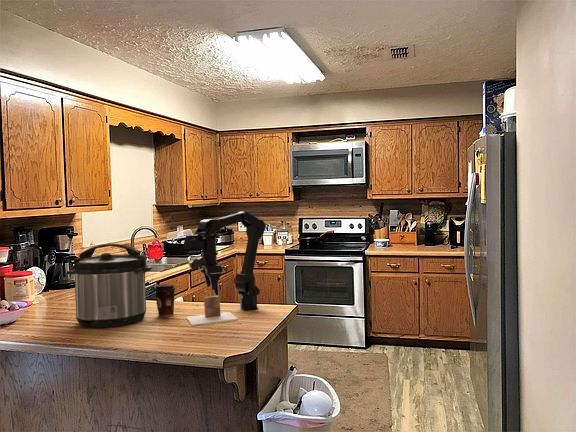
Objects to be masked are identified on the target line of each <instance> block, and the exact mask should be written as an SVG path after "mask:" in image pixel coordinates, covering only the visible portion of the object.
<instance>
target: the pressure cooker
mask: <svg viewBox="0 0 576 432" xmlns="http://www.w3.org/2000/svg"><path fill="white" fill-rule="evenodd" d="M107 247H114V248H121V249H125V251H126V252H127V254H124V253H122V254H119V253H118V254H117V253H116V254H115V253H113V254H112V253H111V252H104V253H102V254H100V255H93V254H94V253H95V251H96V249H101V248H107ZM78 256H79V257H75V258H74V259H73V268H74V269H69V270H67V271H66V275H74V295H75V297H74V298H75V318H76V319H75V320H76V321H77V322H78V324H79V325H81V326H89V327H90V328H91V327H93V328H108V327H118V326H124V325H130V324H134V323H137V322H139V321H141V320H143V319H144V317H145V315H146V312H147V294H146V291H147V290H146V273H148V272H150V271H151V270H152V271H153V266H151V265H147V255H145V254H141V251H140V250H138V249H137V248H135V247H133V246H130V245H126V244H120V243H105V244H99V245H95V246H91V247H90V248H88V249H85V250H84V251H82V252H81V253H79V255H78Z"/></svg>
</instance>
